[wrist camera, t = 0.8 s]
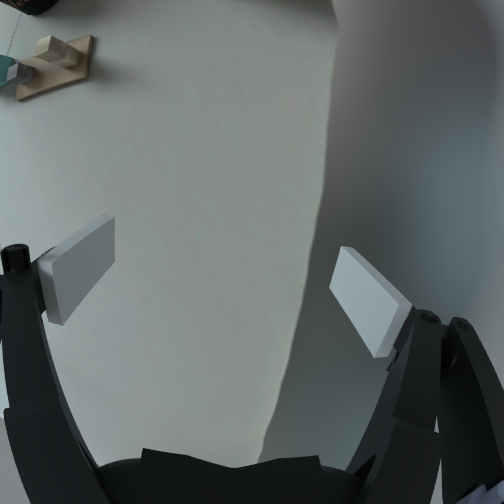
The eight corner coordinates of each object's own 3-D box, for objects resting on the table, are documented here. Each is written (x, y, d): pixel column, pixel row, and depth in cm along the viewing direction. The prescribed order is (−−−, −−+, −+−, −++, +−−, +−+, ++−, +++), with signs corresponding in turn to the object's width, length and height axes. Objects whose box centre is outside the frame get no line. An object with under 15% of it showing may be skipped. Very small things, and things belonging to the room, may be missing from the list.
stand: (24, 63, 27) (-9, 54, 17) (93, 36, 28) (64, 16, 19) (19, 101, 30) (-17, 98, 20) (87, 78, 31) (54, 64, 21)
